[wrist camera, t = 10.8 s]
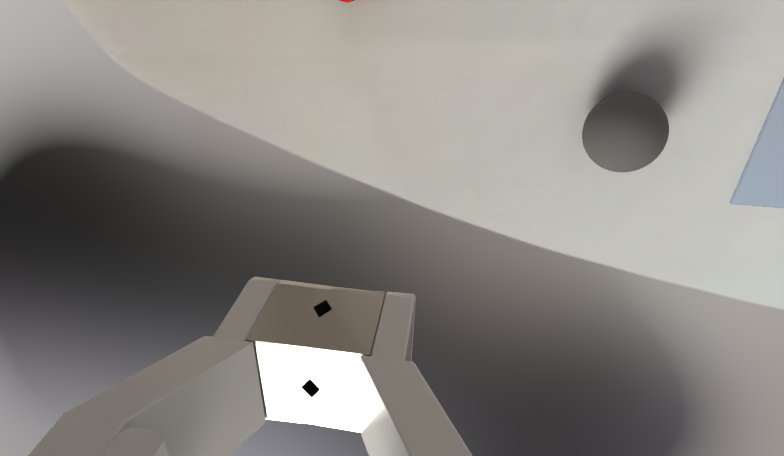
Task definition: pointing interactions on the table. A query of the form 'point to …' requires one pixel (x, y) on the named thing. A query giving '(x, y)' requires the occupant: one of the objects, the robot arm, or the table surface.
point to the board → (765, 163)
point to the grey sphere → (625, 132)
